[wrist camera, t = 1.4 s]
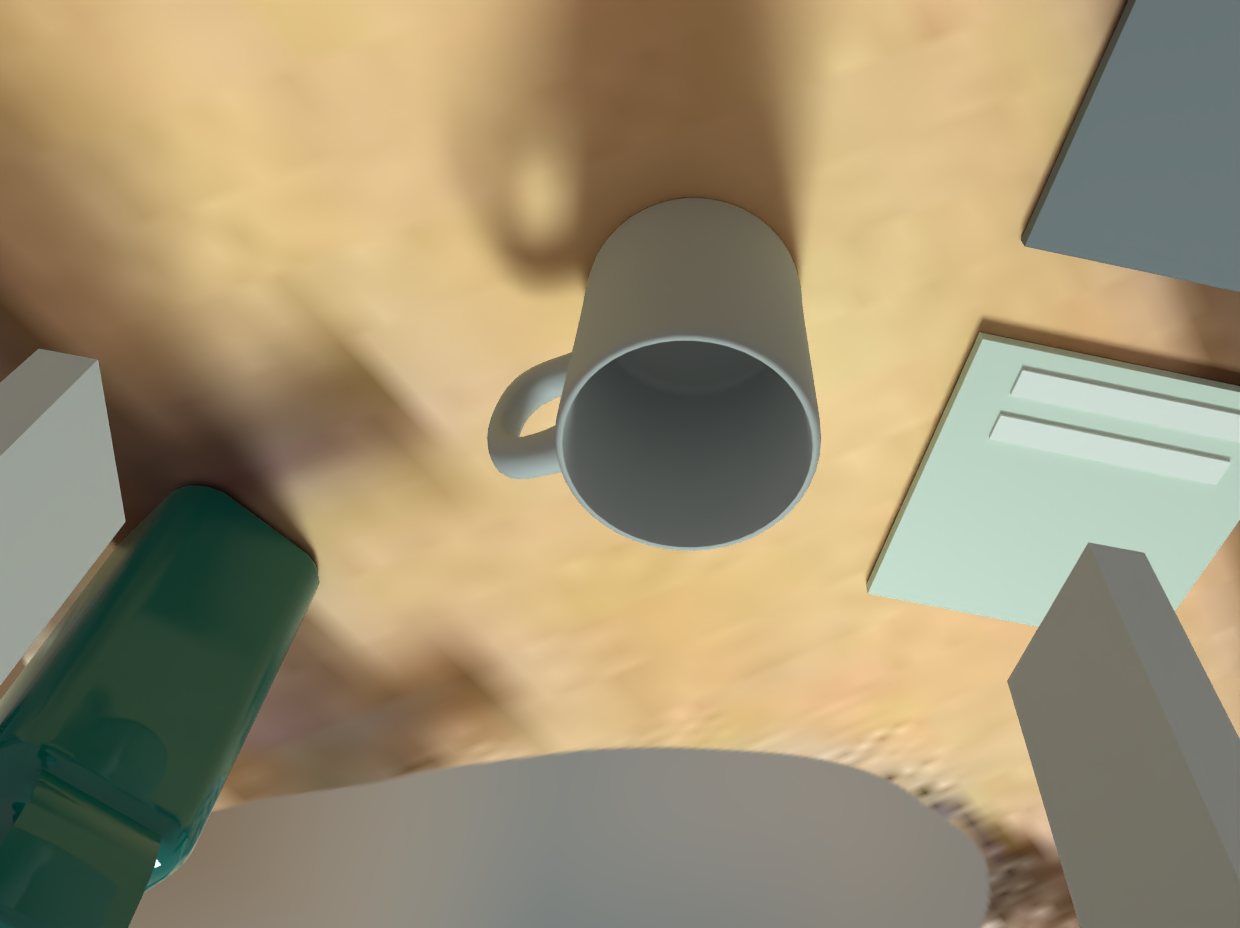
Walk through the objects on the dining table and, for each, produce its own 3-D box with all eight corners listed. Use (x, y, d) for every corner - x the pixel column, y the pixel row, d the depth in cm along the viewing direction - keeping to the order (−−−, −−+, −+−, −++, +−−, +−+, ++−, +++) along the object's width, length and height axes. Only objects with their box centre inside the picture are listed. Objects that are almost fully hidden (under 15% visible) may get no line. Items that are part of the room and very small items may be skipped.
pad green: (979, 332, 40) (983, 340, 40) (1311, 400, 41) (1320, 410, 40) (866, 585, 48) (868, 595, 48) (1144, 639, 49) (1149, 650, 48)
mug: (763, 162, 37) (778, 292, 28) (824, 354, 42) (854, 519, 33) (475, 265, 40) (407, 410, 32) (560, 433, 45) (521, 602, 36)
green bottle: (245, 645, 54) (13, 1083, 36) (107, 552, 51) (-220, 982, 33) (355, 556, 50) (154, 1004, 32) (212, 449, 47) (-99, 880, 29)
